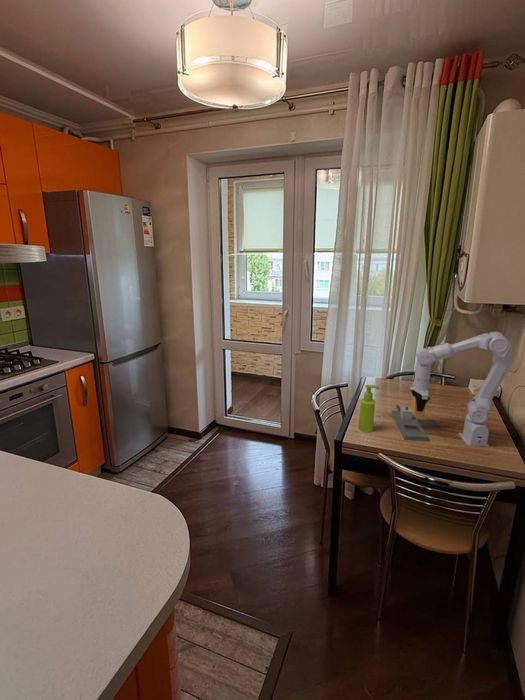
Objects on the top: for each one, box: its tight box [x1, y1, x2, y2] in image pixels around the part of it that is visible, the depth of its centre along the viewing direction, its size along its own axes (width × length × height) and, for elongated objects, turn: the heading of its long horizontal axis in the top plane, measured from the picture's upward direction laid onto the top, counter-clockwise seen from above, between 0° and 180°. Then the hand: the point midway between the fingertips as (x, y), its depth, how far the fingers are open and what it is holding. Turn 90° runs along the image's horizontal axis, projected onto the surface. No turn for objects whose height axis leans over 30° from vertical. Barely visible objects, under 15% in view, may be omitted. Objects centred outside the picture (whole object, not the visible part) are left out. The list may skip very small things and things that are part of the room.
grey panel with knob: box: [391, 404, 429, 442], centre depth 162 cm, size 32×9×7 cm, turn 173°
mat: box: [416, 418, 442, 429], centre depth 162 cm, size 8×8×1 cm
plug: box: [411, 395, 426, 417], centre depth 154 cm, size 4×4×8 cm
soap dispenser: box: [358, 384, 380, 434], centre depth 155 cm, size 6×7×20 cm
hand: (418, 408), depth 154 cm, fingers closed on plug, 4 cm apart
